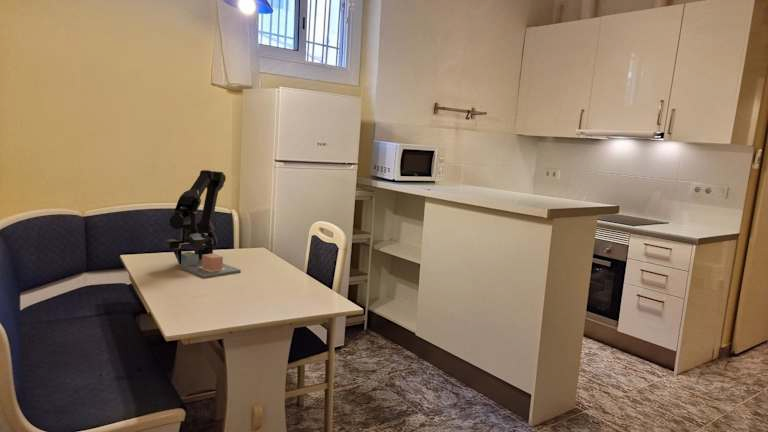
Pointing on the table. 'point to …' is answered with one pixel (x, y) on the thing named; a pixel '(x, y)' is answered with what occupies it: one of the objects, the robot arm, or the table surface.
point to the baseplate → (208, 273)
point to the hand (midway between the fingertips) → (188, 262)
